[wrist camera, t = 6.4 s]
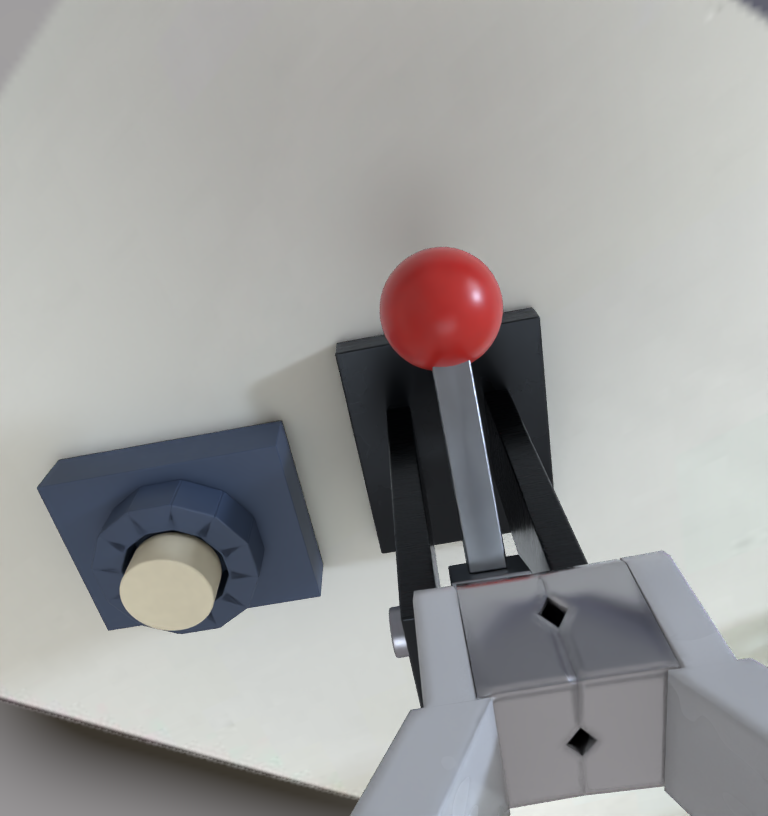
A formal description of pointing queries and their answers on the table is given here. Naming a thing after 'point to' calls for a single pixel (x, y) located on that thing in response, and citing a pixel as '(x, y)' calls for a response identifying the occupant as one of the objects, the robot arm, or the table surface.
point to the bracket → (428, 463)
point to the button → (171, 581)
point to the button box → (191, 516)
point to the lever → (454, 384)
